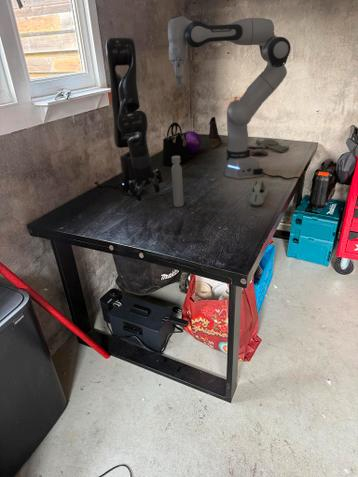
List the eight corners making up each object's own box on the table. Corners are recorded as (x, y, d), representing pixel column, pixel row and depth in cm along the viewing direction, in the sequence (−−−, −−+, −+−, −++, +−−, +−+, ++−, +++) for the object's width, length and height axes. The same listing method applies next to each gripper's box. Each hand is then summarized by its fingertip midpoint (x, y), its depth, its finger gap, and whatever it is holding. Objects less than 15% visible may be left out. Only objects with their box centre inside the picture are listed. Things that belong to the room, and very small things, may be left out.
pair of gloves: (254, 158, 215) (254, 150, 212) (233, 149, 235) (233, 142, 233) (291, 151, 224) (292, 143, 222) (268, 143, 245) (268, 136, 242)
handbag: (173, 167, 207) (170, 126, 195) (161, 165, 212) (158, 125, 199) (189, 158, 222) (188, 119, 209) (178, 157, 226) (176, 119, 214)
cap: (182, 162, 147) (181, 156, 146) (174, 164, 145) (174, 158, 144) (177, 160, 150) (177, 155, 149) (170, 162, 148) (169, 156, 147)
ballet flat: (269, 188, 169) (270, 173, 165) (265, 208, 149) (266, 191, 145) (252, 187, 171) (253, 172, 167) (246, 206, 151) (247, 190, 147)
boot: (222, 140, 259) (222, 113, 249) (219, 148, 239) (219, 120, 229) (211, 140, 261) (211, 114, 251) (207, 148, 241) (207, 120, 231)
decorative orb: (204, 151, 235) (204, 129, 228) (194, 156, 225) (193, 134, 217) (186, 149, 243) (186, 128, 235) (175, 154, 232) (174, 132, 224)
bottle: (185, 204, 157) (183, 157, 146) (177, 207, 155) (174, 160, 144) (180, 201, 161) (177, 155, 149) (171, 204, 159) (168, 157, 147)
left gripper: (152, 152, 132) (158, 185, 143) (120, 165, 127) (129, 199, 138) (161, 159, 127) (167, 193, 139) (129, 173, 122) (138, 207, 134)
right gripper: (185, 55, 152) (186, 88, 159) (184, 55, 169) (185, 84, 176) (171, 56, 152) (173, 89, 159) (171, 55, 170) (173, 85, 176)
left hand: (148, 196), depth 138 cm, fingers open, 8 cm apart
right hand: (179, 86), depth 168 cm, fingers open, 8 cm apart
